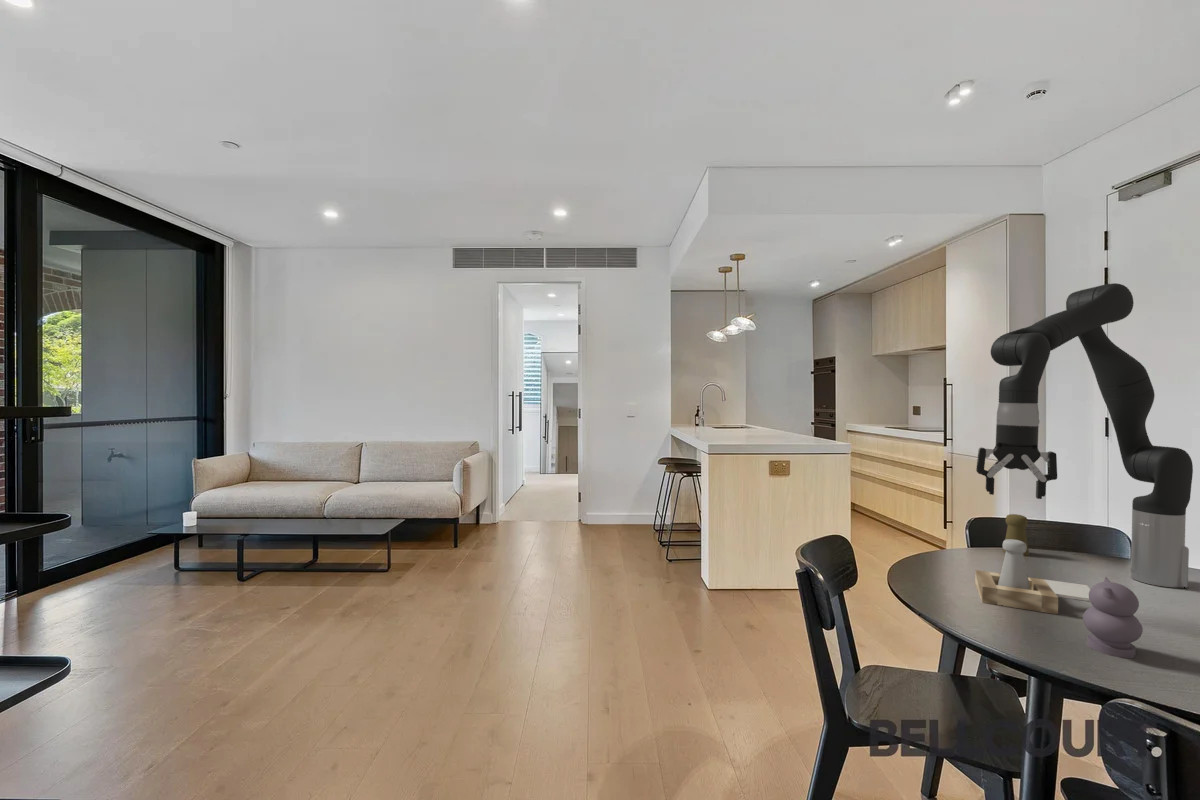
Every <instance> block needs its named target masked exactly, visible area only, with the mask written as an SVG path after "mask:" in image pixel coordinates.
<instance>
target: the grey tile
mask: <svg viewBox="0 0 1200 800" xmlns="http://www.w3.org/2000/svg"><path fill="white" fill-rule="evenodd" d="M1044 580H1045V581H1046V582H1047V584H1048V585H1049V586H1050V588H1051V589H1052V590H1053V591H1054V593H1055V594H1056V595H1057V597H1058V598H1065V599H1072V600H1079V601H1085V602H1090V600H1089V591H1090V589H1091V588H1090V587H1089V586H1088V585H1087V584H1079V583H1073V582H1067V581H1065V582H1064V581H1059V580H1058V581H1057V580H1053V579H1051V580H1050V579H1044Z"/></svg>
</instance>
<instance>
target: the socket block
mask: <svg viewBox="0 0 1200 800" xmlns="http://www.w3.org/2000/svg"><path fill="white" fill-rule="evenodd" d="M974 574H975V575H974V577H975V579H974V580H975V581H974V583H975V588H976V590H977V593H978V596H979V597H980V601H981V603H983V604H989V605H995V604H997V605H996V606H1001V605H1003V606H1002V607H1008V608H1016V609H1022V610H1027V611H1028V610H1029V611H1034V612H1041V613H1046V614H1052V615H1053V614H1054V615H1058V614H1059V597H1057V595H1056V594H1055V593H1054V591H1053V590H1052V589H1051V588H1050V586H1049V585H1048V584H1047V582H1046V581H1045V580H1046V579H1044V578H1037V577H1029V576H1028V580H1029V585H1030V590H1027V589H1020V588H1013V587H1006V586H999V585H998V582H999V578H1000V574H1001V572H1000V573H998V572H995V571H994V572H993V571H987V570H976V569H975V573H974Z"/></svg>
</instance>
